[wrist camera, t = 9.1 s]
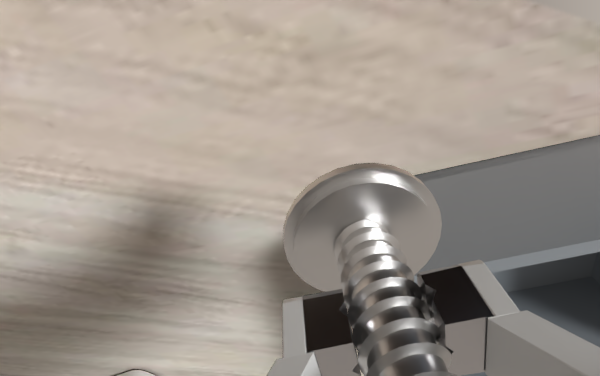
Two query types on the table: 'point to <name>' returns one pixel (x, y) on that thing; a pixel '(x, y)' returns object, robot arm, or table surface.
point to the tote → (529, 229)
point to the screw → (372, 261)
